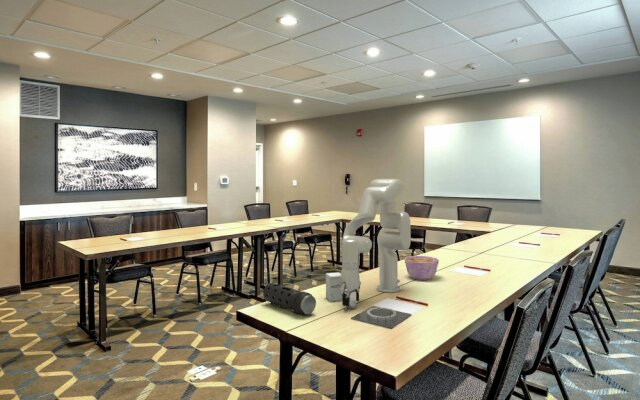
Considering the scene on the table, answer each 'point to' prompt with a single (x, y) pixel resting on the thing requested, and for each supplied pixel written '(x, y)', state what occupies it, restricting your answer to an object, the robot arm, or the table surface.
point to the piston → (351, 300)
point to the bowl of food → (421, 266)
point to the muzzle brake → (290, 298)
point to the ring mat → (381, 317)
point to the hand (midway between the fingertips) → (350, 303)
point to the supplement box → (333, 286)
